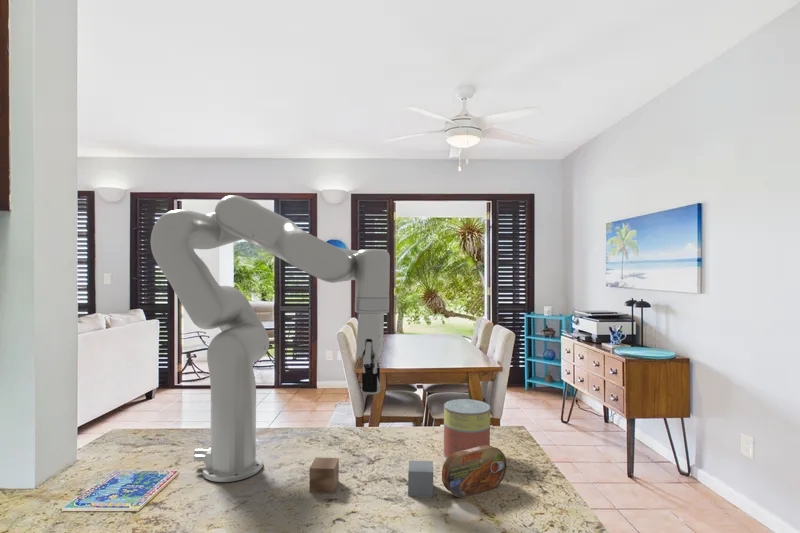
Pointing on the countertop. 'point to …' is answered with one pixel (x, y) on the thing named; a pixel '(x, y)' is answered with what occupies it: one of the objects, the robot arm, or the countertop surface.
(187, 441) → the countertop surface
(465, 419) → the canned food
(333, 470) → the walnut block
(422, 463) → the medium-grey block
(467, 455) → the tin
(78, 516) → the countertop surface
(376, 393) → the rook chess piece
